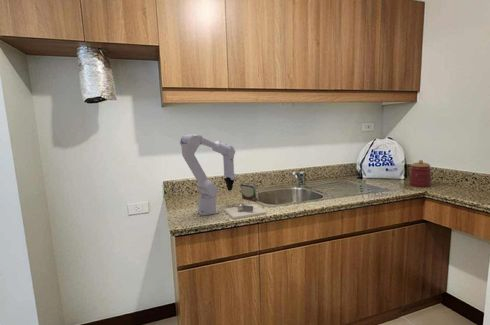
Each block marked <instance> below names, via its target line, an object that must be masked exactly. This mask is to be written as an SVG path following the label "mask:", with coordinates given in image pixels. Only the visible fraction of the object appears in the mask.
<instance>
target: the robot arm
mask: <svg viewBox="0 0 490 325" xmlns="http://www.w3.org/2000/svg"><path fill="white" fill-rule="evenodd" d="M179 145H180V147H181V154H182V157H183V159H184V161H185V163H186V164H187V166H188V168H189V169H190V171H191V173H192V175H193V176H194V177H195V179H196V181H197V185H196V186H197V188H198V192H199V194H200V195H201V196H200V197H198V198H197V210H198V211H197V212H198V213H199V215H200V216H208V215H214V214H218V213H219V211H218V210H217V205H216V204H217V203H216V197H217V194H218V192H219V190H218V189H219V188H218V186H217V185H215V184H214V183H213V182H212V181H211V180H210V179H209V178H208V176H207V174H206V173H205V171H204V169H203V168H202V166H201V164H200V162H199V161H198V159H197V157H196V155H195V153H196V151H197V150H198V148H199V147H200V146H201V145H203V146H206V147H208V148H211V149H212V151H213V152H216V153H217V154H220V155H221V156H222V158H223V159H222V160H223V177H224V178H223V180H224V182H225V184H226V189H227V191H233V186H234V182H235V180H236V176H237V173H235V164H234V161H235V160H234V159H235V155H236V150H235V148H234V146H232V145H228V144H227V143H223V142H222V141H221V140H216V141H213V140H210V139H209V138H207V137H204V136H203V135H199V134H197V133H194V134H183V135H182V136H181V137H180V140H179Z"/></svg>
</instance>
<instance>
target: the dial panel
mask: <svg viewBox="0 0 490 325" xmlns="http://www.w3.org/2000/svg"><path fill="white" fill-rule="evenodd" d="M246 206H253V211H252V212H251V211H238V209H237V206H233V207H227V208H223V211H224V212H225V214H227V215H228V216H229V218H231V220H233V221H234V220H238V219H239V220H240V219H244V218H245V219H246V218H252V217H257V216H262V215H263V216H264V215H267V211H265V210H264V209H263V208H261V207H259V206H257V205H256V204H255V203H254V204H247V205H246Z"/></svg>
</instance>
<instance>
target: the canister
mask: <svg viewBox="0 0 490 325" xmlns="http://www.w3.org/2000/svg"><path fill="white" fill-rule="evenodd" d="M409 170H410V171H409V180H408V184H409V186H412V187H416V188H417V187H418V188H429V187H431V185H432V170H433V169H432V168H431V165H430V164H429V163H427V162H424V161H423V160H422V159H420V160H419V161H418V162H413V163H411V165H410V167H409Z"/></svg>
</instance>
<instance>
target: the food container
mask: <svg viewBox="0 0 490 325" xmlns="http://www.w3.org/2000/svg"><path fill="white" fill-rule="evenodd" d="M239 186H240V191H241V199H242V200H245V201H249V202H255V201H256V190H257V188H258V186H257V184H256V183H254V182H242V183H241V182H240V185H239Z"/></svg>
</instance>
